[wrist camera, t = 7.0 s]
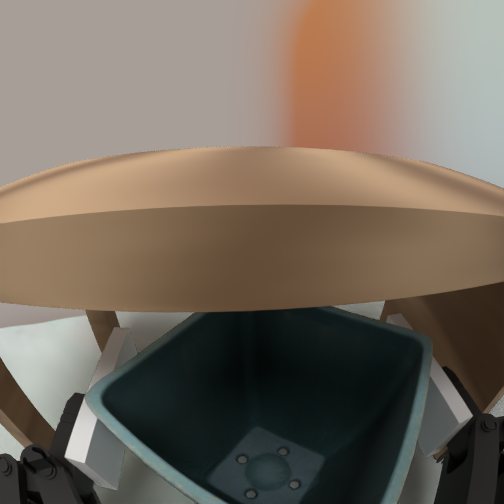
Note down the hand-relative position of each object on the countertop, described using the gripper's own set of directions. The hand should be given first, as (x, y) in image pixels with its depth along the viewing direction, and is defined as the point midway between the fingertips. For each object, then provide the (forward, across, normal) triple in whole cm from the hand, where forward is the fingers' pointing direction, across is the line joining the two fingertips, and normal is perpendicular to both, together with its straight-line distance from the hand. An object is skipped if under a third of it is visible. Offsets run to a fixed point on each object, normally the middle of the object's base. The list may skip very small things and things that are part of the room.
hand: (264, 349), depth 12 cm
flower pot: (-4, 0, -7) cm, 8 cm away
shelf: (0, 0, -6) cm, 7 cm away
